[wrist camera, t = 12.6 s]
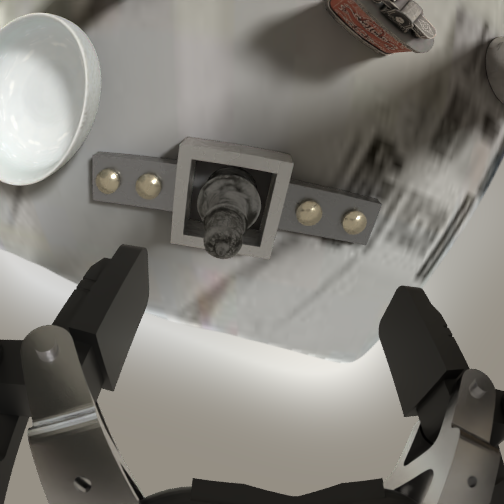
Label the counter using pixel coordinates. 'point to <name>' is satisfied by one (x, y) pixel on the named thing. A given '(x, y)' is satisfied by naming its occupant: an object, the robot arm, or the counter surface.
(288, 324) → the counter surface
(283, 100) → the counter surface
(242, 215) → the grey tall turned piece
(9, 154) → the cereal bowl
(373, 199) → the studded gray strap
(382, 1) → the lighter
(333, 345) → the counter surface
